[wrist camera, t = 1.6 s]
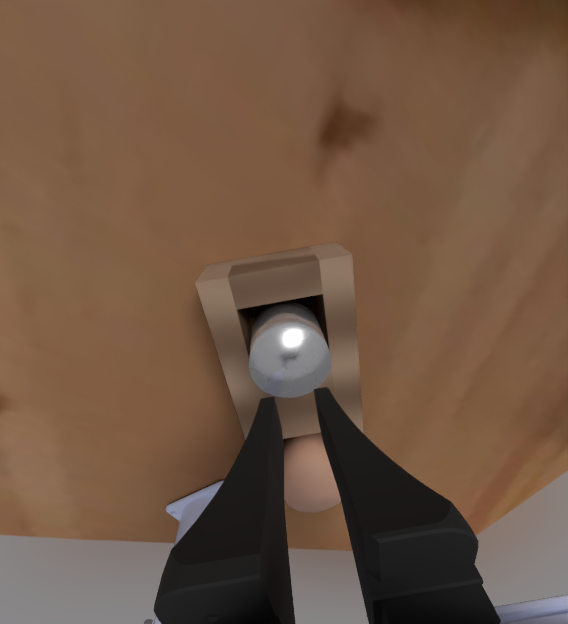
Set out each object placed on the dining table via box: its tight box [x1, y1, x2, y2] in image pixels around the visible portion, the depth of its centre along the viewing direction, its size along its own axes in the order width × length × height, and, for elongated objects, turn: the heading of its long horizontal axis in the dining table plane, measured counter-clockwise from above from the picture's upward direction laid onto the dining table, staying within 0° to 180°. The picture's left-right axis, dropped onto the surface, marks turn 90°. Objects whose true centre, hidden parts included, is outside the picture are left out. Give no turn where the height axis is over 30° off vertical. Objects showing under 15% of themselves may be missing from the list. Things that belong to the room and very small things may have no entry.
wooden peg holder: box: [195, 242, 364, 440], centre depth 23 cm, size 22×10×4 cm, turn 10°
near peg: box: [249, 302, 331, 398], centre depth 18 cm, size 5×5×4 cm
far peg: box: [283, 432, 341, 513], centre depth 23 cm, size 5×5×4 cm
